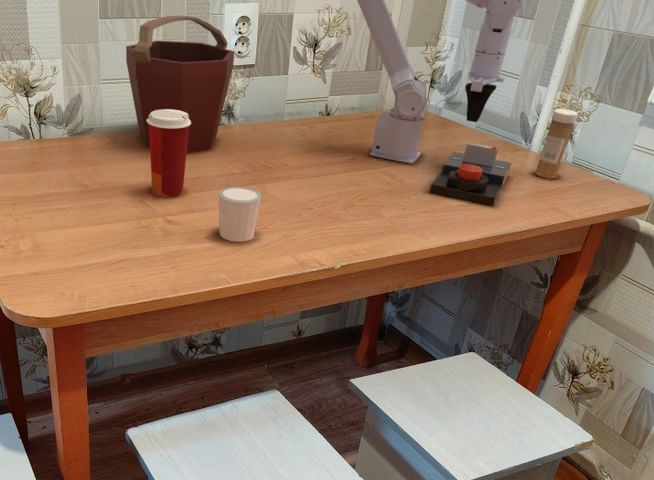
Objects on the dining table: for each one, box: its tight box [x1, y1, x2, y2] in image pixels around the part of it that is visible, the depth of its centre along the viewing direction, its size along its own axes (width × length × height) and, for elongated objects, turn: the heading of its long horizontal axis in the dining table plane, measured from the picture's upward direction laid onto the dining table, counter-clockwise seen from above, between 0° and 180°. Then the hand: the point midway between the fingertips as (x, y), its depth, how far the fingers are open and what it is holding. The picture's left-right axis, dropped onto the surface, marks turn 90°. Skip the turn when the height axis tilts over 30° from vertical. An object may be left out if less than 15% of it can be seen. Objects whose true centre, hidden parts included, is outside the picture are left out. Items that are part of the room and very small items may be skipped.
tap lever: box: [463, 141, 499, 167], centre depth 143 cm, size 6×2×4 cm, turn 63°
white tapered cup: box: [218, 186, 262, 243], centre depth 113 cm, size 7×7×7 cm
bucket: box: [125, 15, 235, 153], centre depth 149 cm, size 24×22×25 cm
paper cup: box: [146, 109, 191, 198], centre depth 125 cm, size 8×8×14 cm
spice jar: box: [534, 108, 579, 180], centre depth 146 cm, size 5×5×14 cm
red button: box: [457, 164, 483, 181], centre depth 135 cm, size 4×4×2 cm
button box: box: [429, 170, 502, 207], centre depth 136 cm, size 12×8×4 cm, turn 63°
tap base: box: [441, 151, 512, 192], centre depth 145 cm, size 12×10×3 cm
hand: (472, 120), depth 147 cm, fingers closed
